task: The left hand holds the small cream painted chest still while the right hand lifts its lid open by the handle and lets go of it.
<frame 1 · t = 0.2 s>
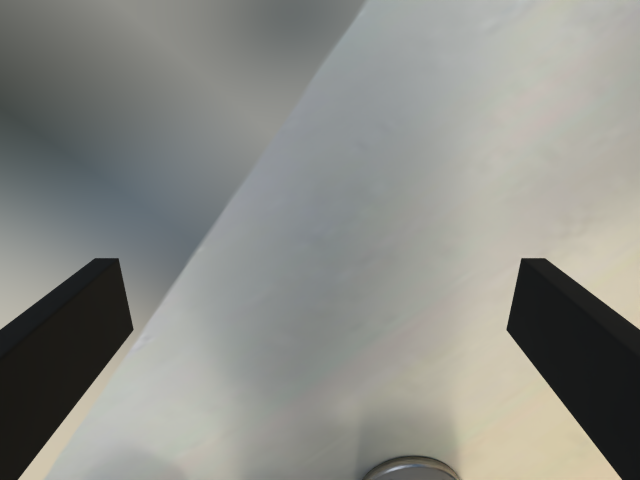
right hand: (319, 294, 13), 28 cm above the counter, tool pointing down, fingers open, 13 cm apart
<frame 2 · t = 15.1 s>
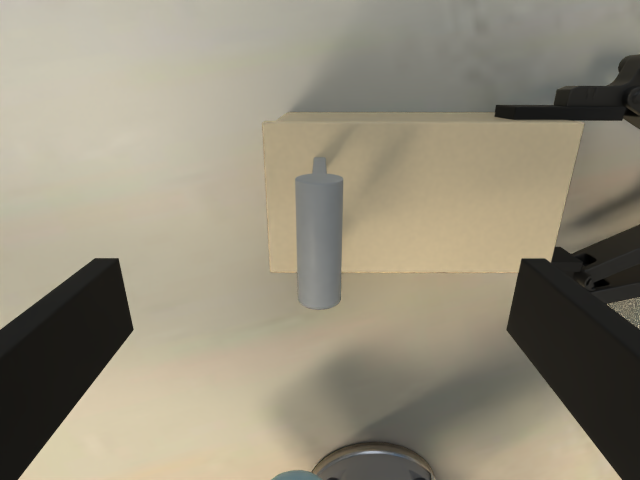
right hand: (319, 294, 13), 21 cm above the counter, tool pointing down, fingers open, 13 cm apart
lid: (430, 220, 20), point 13 cm above the counter, hinge at 0.0°
chest: (393, 171, 32), on the counter, touching left hand
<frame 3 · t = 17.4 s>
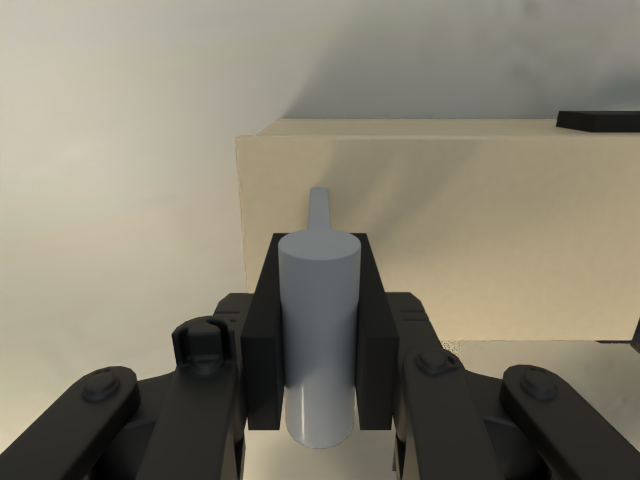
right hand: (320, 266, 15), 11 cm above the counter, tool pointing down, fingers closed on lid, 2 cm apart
lid: (485, 286, 13), point 13 cm above the counter, hinge at 0.7°, touching right hand
chest: (412, 192, 25), on the counter, touching left hand
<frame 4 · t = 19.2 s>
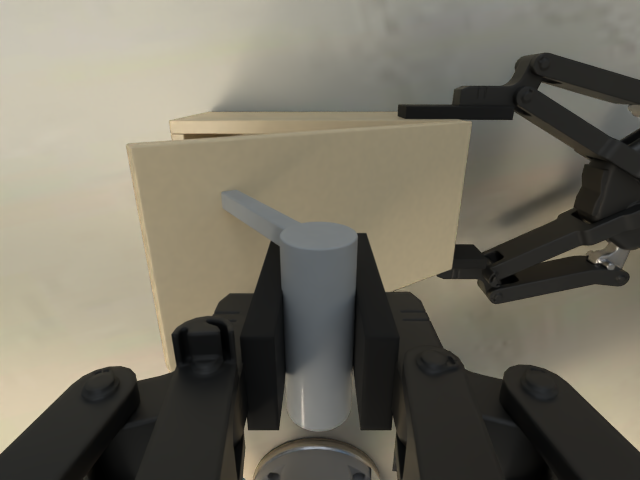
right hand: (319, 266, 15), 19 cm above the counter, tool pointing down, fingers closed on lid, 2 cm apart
left hand: (395, 188, 26), fingers closed on chest, 9 cm apart
lid: (391, 249, 16), point 17 cm above the counter, hinge at 33.7°, touching right hand
chest: (317, 169, 32), on the counter, touching left hand
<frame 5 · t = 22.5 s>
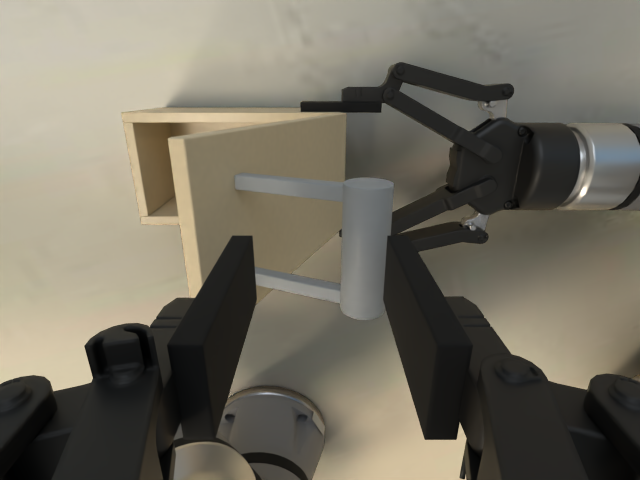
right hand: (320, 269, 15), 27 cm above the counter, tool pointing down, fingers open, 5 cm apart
left hand: (302, 166, 34), fingers closed on chest, 9 cm apart
lid: (344, 206, 23), point 19 cm above the counter, hinge at 66.4°
chest: (252, 154, 40), on the counter, touching left hand
when the left hand's fingers open (7 cm above the counter, at t = 25.1 s): chest stays where it is, on the counter.
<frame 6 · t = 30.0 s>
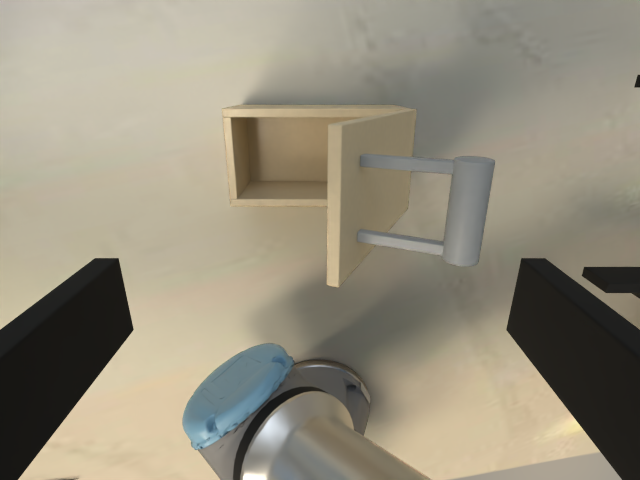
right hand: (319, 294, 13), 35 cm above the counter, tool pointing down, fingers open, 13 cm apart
lid: (429, 184, 27), point 19 cm above the counter, hinge at 65.1°
chest: (317, 147, 45), on the counter
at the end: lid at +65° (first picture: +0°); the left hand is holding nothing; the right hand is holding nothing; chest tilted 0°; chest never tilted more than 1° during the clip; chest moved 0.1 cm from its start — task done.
